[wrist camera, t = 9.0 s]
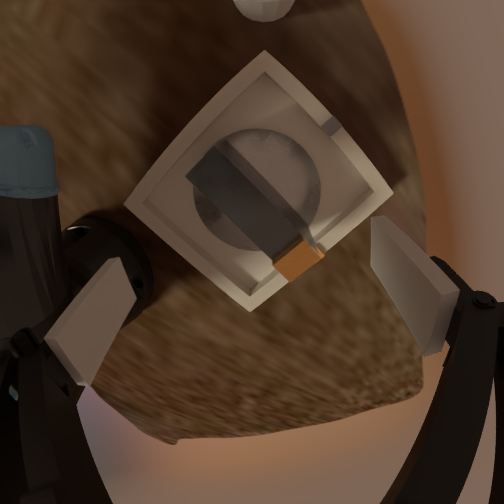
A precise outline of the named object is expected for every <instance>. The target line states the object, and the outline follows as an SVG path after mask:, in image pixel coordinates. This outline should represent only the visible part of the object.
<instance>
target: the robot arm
mask: <svg viewBox="0 0 504 504" xmlns="http://www.w3.org/2000/svg"><path fill="white" fill-rule="evenodd" d="M58 193H59V185H58V182H57V180H56V171H55V157H54V144H53V140H52V137H51V135H50V134H49V132H48V131H47V130H46V129H44V128H43V127H41V126H38V125H5V126H0V504H113V503H112V501H111V499H110V497H109V495H108V492H107V490H106V488H105V486H104V484H103V481H102V479H101V477H100V474H99V472H98V470H97V467H96V465H95V462H94V459H93V457H92V454H91V451H90V448H89V446H88V443H87V440H86V437H85V434H84V430H83V427H82V424H81V421H80V417H79V414H78V410H77V406H76V404H77V402H78V400H79V398H80V396H81V394H82V392H83V390H84V388H85V386H90V385H91V383H92V381H93V379H94V377H95V375H96V373H97V371H98V369H99V367H100V365H101V363H102V361H103V359H104V357H105V355H106V353H107V351H108V350H109V348H110V346H111V344H112V342H113V340H114V338H115V336H116V335H117V333H118V331H119V330H121V329H122V328H123V327H125V326H126V325H128V324H129V323H130V322H132V321H133V320H134V319H136V318H137V317H138V316H139V315H140V314H141V313H142V311H143V310H144V308H145V306H146V305H147V303H148V301H149V299H150V297H151V294H152V289H153V276H152V270H151V267H150V264H149V261H148V259H147V257H146V255H145V253H144V251H143V250H142V248H141V247H140V245H139V244H138V243H137V241H136V240H135V239H134V238H133V237H132V236H131V235H130V234H129V233H128V232H127V231H125V230H124V229H123V228H121V227H120V226H118V225H117V224H115V223H113V222H111V221H108V220H105V219H102V218H96V217H88V218H83V219H80V220H77V221H76V222H74V223H72V224H71V225H70V226H68V227H67V228H66V229H64V230H63V231H62V232H61V225H60V216H59V206H58ZM371 268H372V269H373V271H374V272H375V274H376V275H377V277H378V278H379V280H380V282H381V283H382V285H383V286H384V288H385V290H386V291H387V293H388V294H389V296H390V298H391V299H392V301H393V302H394V304H395V306H396V307H397V309H398V311H399V313H400V314H401V316H402V318H403V319H404V321H405V323H406V325H407V326H408V328H409V330H410V332H411V333H412V335H413V337H414V339H415V340H416V342H417V344H418V346H419V348H420V350H421V352H422V353H423V355H424V357H425V356H429V355H432V354H435V353H438V352H441V350H442V348H443V345H444V342H445V339H446V341H447V343H448V344H449V346H450V349H449V351H448V353H447V356H446V359H445V361H444V364H443V367H444V368H443V371H442V374H441V377H440V380H439V384H438V386H437V389H436V392H435V395H434V397H433V400H432V403H431V405H430V408H429V411H428V413H427V416H426V418H425V421H424V423H423V425H422V427H421V430H420V432H419V434H418V436H417V438H416V441H415V443H414V445H413V447H412V449H411V451H410V453H409V455H408V457H407V459H406V461H405V463H404V464H403V466H402V468H401V470H400V472H399V473H398V475H397V477H396V479H395V480H394V482H393V484H392V485H391V487H390V489H389V490H388V492H387V494H386V495H385V497H384V498H383V500H382V501H381V503H380V504H456V502H457V500H458V498H459V496H460V493H461V491H462V489H463V487H464V484H465V481H466V479H467V477H468V474H469V471H470V469H471V466H472V463H473V460H474V457H475V454H476V451H477V448H478V445H479V442H480V438H481V435H482V431H483V427H484V423H485V419H486V415H487V410H488V406H489V401H490V395H491V389H492V384H493V377H494V385H495V400H496V447H495V461H494V472H493V479H492V486H491V493H490V498H489V504H504V302H497V301H496V299H495V298H494V297H493V296H491V295H490V294H489V293H486V292H483V291H473V290H472V289H471V288H470V287H469V286H468V285H467V284H466V283H465V281H464V280H463V279H461V277H460V276H459V275H458V274H456V272H455V271H454V270H453V269H451V267H450V266H449V265H448V264H447V263H446V262H445V261H443V260H441V259H440V258H438V257H436V256H432V257H428V256H427V255H426V254H425V253H424V252H423V251H422V250H421V249H420V248H419V247H418V246H417V245H416V244H415V243H414V242H413V241H412V240H411V239H410V238H409V237H408V236H407V235H406V234H405V233H404V232H403V231H401V230H400V229H399V228H398V227H397V226H396V225H395V224H394V223H393V222H392V221H390V220H389V219H388V218H387V217H386V216H385V215H384V216H376V217H371Z"/></svg>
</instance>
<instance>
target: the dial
mask: <svg viewBox="0 0 504 504" xmlns="http://www.w3.org/2000/svg"><path fill="white" fill-rule="evenodd" d="M185 177H186V178H187V179H188V180H189V181H190V182H191V183H192V184H193V197H194V202H195V207H196V209H197V212H198V215H199V216H200V218H201V220H202V222H203V223H204V225H205V226H206V227H207V229H208V230H209V231H210V232H211V233H212V234H213V235H215V236H216V237H217V238H218V239H220V240H221V241H223V242H224V243H226V244H228V245H230V246H233V247H236V248H238V249H242V250H247V251H263V252H264V253H265V254H266V255H267V256H268V257H269V258H270V259H271V260H272V266H273V267H274V268H275V269H276V270H277V271H278V272H279V273H281V274H282V275H283V276H284V277H285V278H286V279H287V280H288V281H289V282H291V281H293V280H294V279H295V278H297V277H298V276H299V275H300V274H302V273H303V272H304V271H306V270H307V269H308V268H310V267H311V266H312V265H313V264H315V263H316V262H317V261H319V260H320V259H321V258H320V255H319V253H318V250H317V248H316V245H315V242H314V240H313V237H312V235H311V232H310V229H309V225H310V224H311V222H312V221H313V219H314V217H315V215H316V213H317V210H318V207H319V203H320V197H321V184H320V178H319V174H318V171H317V168H316V166H315V164H314V162H313V160H312V158H311V157H310V155H309V154H308V153H307V152H306V150H305V149H304V148H303V147H302V146H301V145H300V144H298V143H297V142H296V141H294V140H293V139H292V138H290V137H288V136H286V135H284V134H282V133H279V132H277V131H273V130H269V129H260V128H254V129H245V130H240V131H237V132H234V133H231V134H229V135H227V136H225V137H223V138H222V139H220V140H219V141H217V142H216V143H215V144H214V145H213V146H212V147H210V149H209V150H208V151H207V152H206V153H205V155H204V156H203V158H202V159H201V160H200V161H199V162H198V163H197V164H196V165H195V166H194V167H193V168H192V169H191V170H190V171H189V172H188V173H187V174H186V175H185Z"/></svg>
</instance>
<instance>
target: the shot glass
mask: <svg viewBox="0 0 504 504" xmlns="http://www.w3.org/2000/svg"><path fill="white" fill-rule="evenodd" d="M233 1H234V3H235V5H236V7H237V9H238V10H239V11H240V12H241V13H242V15H243V16H245V17H247V18H249V19H251V20H253V21H259V22H270V21H275V20H278V19H280V18H282V17H284V16H285V15H286V14H287V13H288V12H289V11H290V9H291V7H292V5H293V3H294V2H295V0H233Z"/></svg>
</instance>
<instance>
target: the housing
mask: <svg viewBox="0 0 504 504" xmlns="http://www.w3.org/2000/svg"><path fill="white" fill-rule="evenodd" d="M254 128H260V129H269V130H273V131H277V132H279V133H282V134H284V135H286V136H288V137H290V138H292V139H293V140H294V141H296V142H297V143H298V144H300V145H301V146H302V147H303V148H304V149H305V150H306V152H307V153H308V154H309V155H310V157H311V158H312V160H313V162H314V164H315V166H316V168H317V171H318V174H319V178H320V184H321V197H320V203H319V207H318V210H317V213H316V215H315V217H314V219H313V221H312V222H311V224H310V225H309V229H310V232H311V235H312V237H313V240H314V242H315V245H316V248H317V250H318V253H319V255H320V258H321V259H322V258H323V257H324V256H325V255H324V253H325V252H326V251H328V250H329V249H330V248H331V247H332V246H334V245H335V244H336V243H337V242H338V241H340V240H341V239H342V238H343V237H344V236H345V235H347V234H348V233H349V232H350V231H351V230H353V229H354V228H355V227H356V226H357V225H358V224H360V223H361V222H362V221H363V220H364V219H365V218H366V217H368V216H369V215H370V214H371V213H372V212H373V211H374V210H376V209H377V208H378V207H379V206H380V205H381V204H382V203H384V202H385V201H386V200H387V199H388V198H389V197H390V196H391V195H393V194H394V193H393V191H392V190H391V189H390V187H389V186H388V184H387V183H386V182H385V180H384V179H383V177H382V176H381V175H380V173H379V172H378V171H377V169H376V168H375V167H374V165H373V164H372V163H371V161H370V160H369V159H368V158H367V156H366V155H365V154H364V152H363V151H362V150H361V149H360V147H359V146H358V145H357V144H356V143H355V141H354V140H353V139H352V138H351V137H350V135H349V134H348V133H347V132H346V131H345V129H344V128H343V127H342V124H341V123H340V122H339V121H338V120H337V119H336V118H335V116H332V115H331V114H330V113H329V111H328V110H327V109H326V108H325V107H324V106H323V105H322V104H321V103H320V102H319V101H318V100H317V99H316V98H315V97H314V96H313V95H312V93H311V92H310V91H309V90H308V89H307V88H306V87H305V86H304V85H303V84H302V83H301V82H299V81H298V80H297V79H296V78H295V77H294V76H293V75H292V74H291V73H290V72H289V71H288V70H287V69H286V68H285V67H284V66H282V65H281V64H280V63H279V62H278V61H277V60H276V59H275V58H274V57H272V56H271V55H270V54H269V53H268V52H267V51H265V50H264V51H263V52H261V53H260V54H259V55H258V56H257V57H256V58H254V59H253V60H252V61H251V62H250V63H249V64H248V65H246V66H245V67H244V68H243V69H242V70H241V71H240V72H239V73H238V74H237V75H236V76H234V77H233V78H232V79H231V80H230V81H229V82H228V83H227V84H226V85H225V86H224V87H223V88H222V89H221V90H220V91H219V92H218V93H217V94H216V95H215V96H214V97H213V98H212V99H211V100H210V101H209V102H208V103H207V104H206V105H205V106H204V107H203V108H202V109H201V110H200V111H199V112H198V113H197V115H196V116H195V117H194V118H193V119H192V120H191V121H190V122H189V123H188V124H187V125H186V127H185V128H184V129H183V130H182V131H181V132H180V133H179V134H178V136H177V137H176V138H175V139H174V140H173V141H172V143H171V144H170V145H169V146H168V147H167V148H166V150H165V151H164V152H163V153H162V154H161V156H160V157H159V158H158V159H157V161H156V162H155V163H154V164H153V166H152V167H151V168H150V169H149V171H148V172H147V173H146V174H145V176H144V177H143V178H142V180H141V181H140V182H139V184H138V185H137V186H136V188H135V189H134V190H133V192H132V193H131V194H130V196H129V197H128V199H127V200H126V201H125V203H124V204H123V205H125V206H126V207H127V208H128V209H129V210H130V211H131V212H132V213H133V214H134V215H136V216H137V217H138V218H139V219H140V220H141V221H142V222H143V223H144V224H145V225H147V226H148V227H149V228H150V229H151V230H152V231H153V232H154V233H156V234H157V235H158V236H159V237H160V238H161V239H162V240H164V241H165V242H166V243H167V244H168V245H169V246H170V247H172V248H173V249H174V250H175V251H176V252H177V253H179V254H180V255H181V256H182V257H183V258H184V259H186V260H187V261H188V262H189V263H190V264H191V265H193V266H194V267H195V268H196V269H197V270H199V271H200V272H201V273H202V274H203V275H205V276H206V277H207V278H208V279H209V280H211V281H212V282H213V283H214V284H215V285H217V286H218V287H219V288H220V289H222V290H223V291H224V292H225V293H226V294H228V295H229V296H230V297H231V298H233V299H234V300H235V301H236V302H238V303H239V304H240V305H241V306H243V307H244V308H245V309H246V310H248V311H249V312H251V311H252V310H253V309H255V308H256V307H257V306H259V305H260V304H261V303H263V302H264V301H265V300H266V299H268V298H269V297H270V296H272V295H273V294H274V293H275V292H277V291H278V290H279V289H280V288H282V287H283V286H284V285H286V284H287V283H288V282H289V281H288V280H287V279H286V278H285V277H284V276H283V275H282V274H281V273H279V272H278V271H277V270H276V269H275V268H274V267H273V266H272V260H271V259H270V258H269V257H268V256H267V255H266V254H265V253H264V252H263V251H247V250H242V249H238V248H236V247H233V246H230V245H228V244H226V243H224V242H223V241H221V240H220V239H218V238H217V237H216V236H215V235H213V234H212V233H211V232H210V231H209V230H208V229H207V227H206V226H205V225H204V223H203V222H202V220H201V218H200V216H199V215H198V212H197V209H196V207H195V202H194V197H193V184H192V183H191V182H190V181H189V180H188V179H187V178H186V177H185V175H186V174H187V173H188V172H189V171H190V170H191V169H192V168H193V167H194V166H195V165H196V164H197V163H198V162H199V161H200V160H201V159H202V158H203V156H204V155H205V153H206V152H207V151H208V150H209V149H210V147H212V146H213V145H214V144H215V143H216V142H217V141H219V140H220V139H222V138H223V137H225V136H227V135H229V134H231V133H234V132H237V131H240V130H245V129H254ZM317 262H318V261H317ZM317 262H316V263H317Z"/></svg>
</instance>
